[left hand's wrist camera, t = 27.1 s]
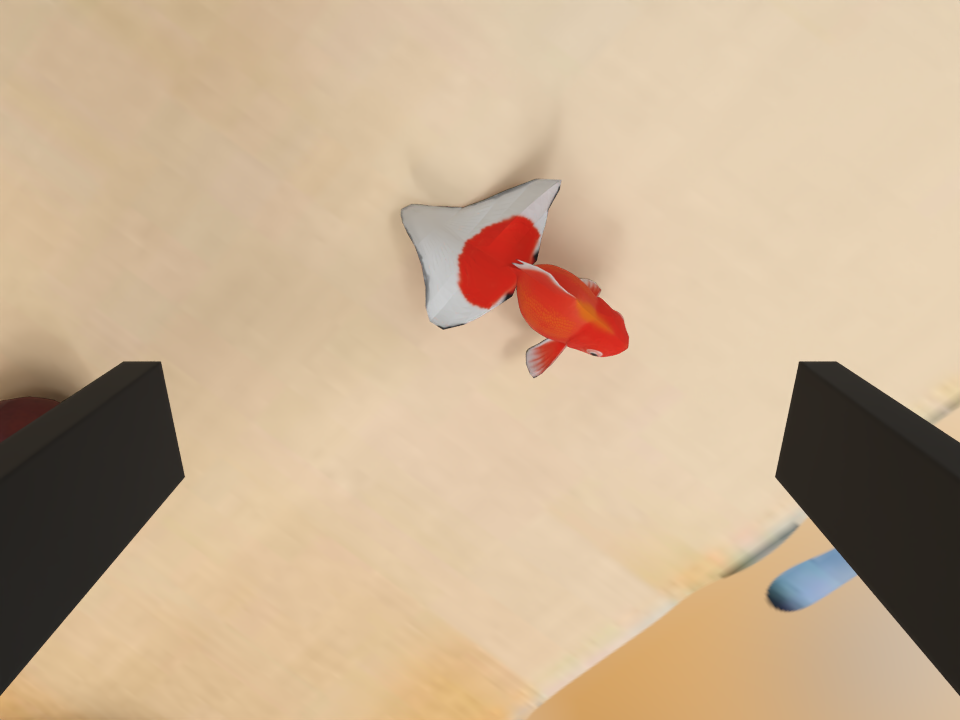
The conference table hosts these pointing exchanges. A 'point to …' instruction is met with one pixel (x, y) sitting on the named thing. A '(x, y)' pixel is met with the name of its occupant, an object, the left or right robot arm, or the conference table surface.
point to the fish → (509, 273)
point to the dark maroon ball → (21, 413)
